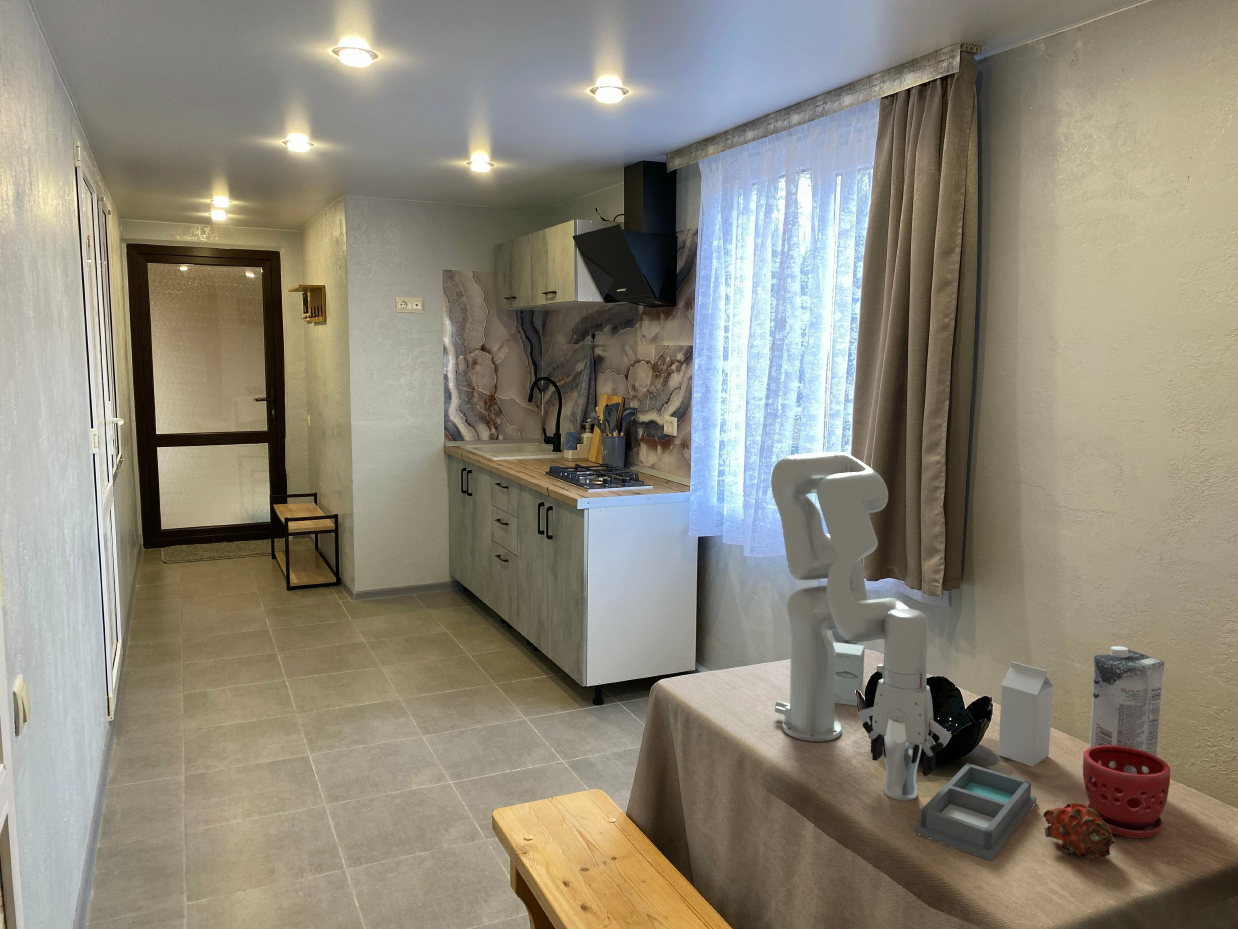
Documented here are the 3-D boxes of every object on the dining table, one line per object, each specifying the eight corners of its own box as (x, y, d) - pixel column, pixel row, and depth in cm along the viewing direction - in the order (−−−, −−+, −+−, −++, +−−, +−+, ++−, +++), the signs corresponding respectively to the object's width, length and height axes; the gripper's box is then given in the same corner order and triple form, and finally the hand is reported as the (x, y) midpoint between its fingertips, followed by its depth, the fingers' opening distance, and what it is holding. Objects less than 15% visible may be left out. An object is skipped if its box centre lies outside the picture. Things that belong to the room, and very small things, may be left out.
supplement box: (826, 703, 209) (828, 650, 208) (832, 691, 216) (833, 641, 214) (859, 707, 207) (861, 654, 205) (863, 696, 213) (865, 644, 212)
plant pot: (1180, 829, 154) (1186, 763, 153) (1139, 853, 148) (1144, 784, 146) (1105, 797, 165) (1110, 735, 164) (1064, 818, 158) (1068, 753, 157)
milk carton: (1033, 767, 177) (1038, 675, 174) (997, 755, 182) (1002, 665, 180) (1048, 756, 182) (1054, 666, 179) (1014, 745, 187) (1019, 657, 184)
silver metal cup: (922, 803, 164) (925, 725, 162) (882, 800, 165) (885, 722, 163) (917, 785, 170) (920, 709, 168) (879, 782, 172) (881, 707, 170)
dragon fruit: (1110, 882, 142) (1045, 855, 153) (1136, 840, 145) (1070, 816, 156) (1085, 847, 140) (1021, 821, 151) (1112, 804, 143) (1047, 783, 154)
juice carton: (1161, 795, 166) (1172, 654, 162) (1120, 806, 162) (1131, 662, 158) (1118, 774, 174) (1127, 639, 171) (1078, 784, 170) (1087, 647, 167)
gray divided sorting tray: (913, 833, 154) (914, 810, 153) (964, 781, 172) (965, 760, 171) (991, 861, 146) (992, 837, 145) (1036, 803, 164) (1037, 781, 163)
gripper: (851, 672, 167) (849, 759, 170) (944, 694, 156) (940, 787, 158) (869, 661, 173) (867, 746, 175) (959, 682, 162) (956, 772, 164)
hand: (902, 765), depth 167 cm, fingers open, 9 cm apart
